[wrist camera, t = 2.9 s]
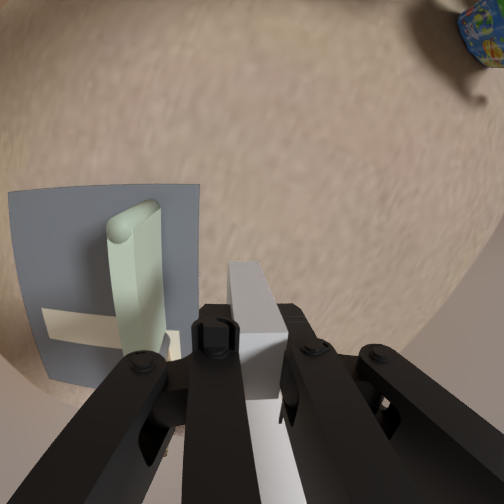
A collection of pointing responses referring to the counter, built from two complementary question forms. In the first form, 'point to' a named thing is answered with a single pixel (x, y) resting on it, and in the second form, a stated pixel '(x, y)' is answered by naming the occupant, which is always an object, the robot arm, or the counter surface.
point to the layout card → (97, 272)
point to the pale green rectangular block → (138, 278)
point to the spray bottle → (273, 454)
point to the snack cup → (484, 31)
